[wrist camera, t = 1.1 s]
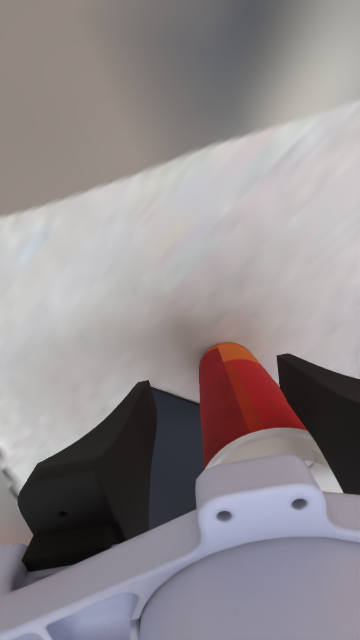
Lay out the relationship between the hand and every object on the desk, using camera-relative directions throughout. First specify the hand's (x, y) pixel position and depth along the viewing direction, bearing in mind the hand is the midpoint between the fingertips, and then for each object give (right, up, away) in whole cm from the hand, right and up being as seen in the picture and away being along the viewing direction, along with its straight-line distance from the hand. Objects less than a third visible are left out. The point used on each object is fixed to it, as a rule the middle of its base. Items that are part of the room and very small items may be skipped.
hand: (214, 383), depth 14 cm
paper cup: (+3, -1, +11) cm, 12 cm away
